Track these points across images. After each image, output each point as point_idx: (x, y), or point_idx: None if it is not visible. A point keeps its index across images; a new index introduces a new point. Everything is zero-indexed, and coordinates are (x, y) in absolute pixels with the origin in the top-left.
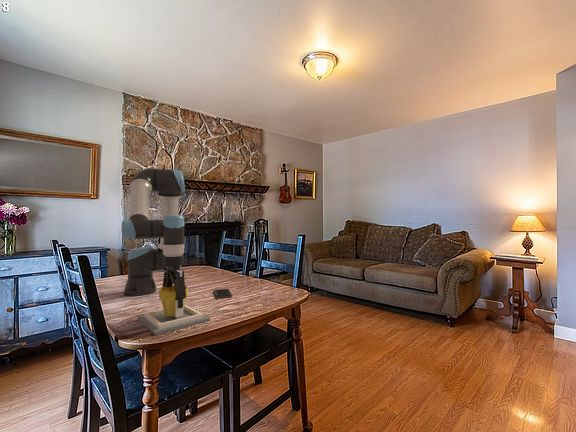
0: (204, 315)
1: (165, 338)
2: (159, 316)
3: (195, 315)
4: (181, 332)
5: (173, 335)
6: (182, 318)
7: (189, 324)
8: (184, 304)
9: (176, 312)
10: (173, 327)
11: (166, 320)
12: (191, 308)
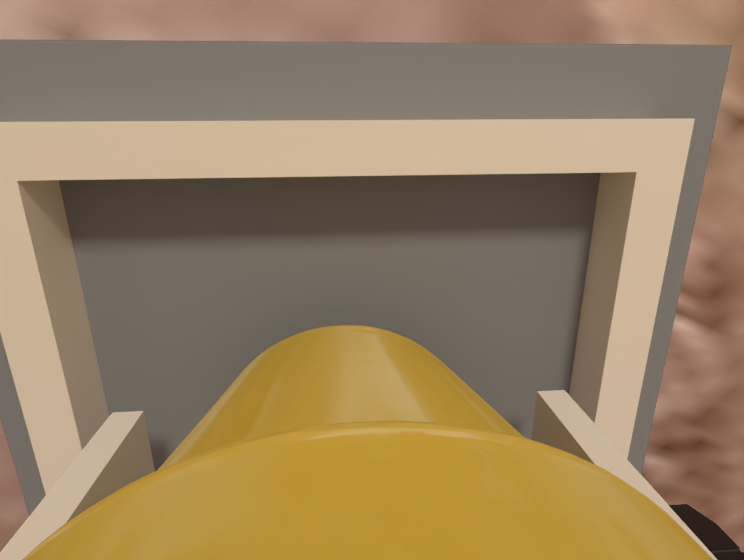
0: (573, 50)
1: None
2: None
3: (647, 241)
4: (719, 432)
5: (717, 497)
6: (613, 413)
7: (662, 332)
8: (470, 393)
9: None
10: None
11: None
12: (282, 141)
